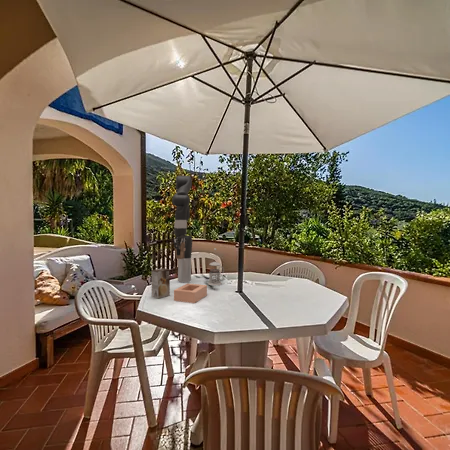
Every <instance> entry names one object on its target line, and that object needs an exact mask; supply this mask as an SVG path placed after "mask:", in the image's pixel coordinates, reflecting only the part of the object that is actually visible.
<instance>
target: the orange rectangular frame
mask: <svg viewBox="0 0 450 450" xmlns="http://www.w3.org/2000/svg"><path fill="white" fill-rule="evenodd" d="M207 295H208V284H207V285H206V284H197V283H191V282H187V283H185V284H183V285H182V286H180V287H178V288H175V289H174V290H173V301H174V302H175V301H176V302H181V303H182V302H183V303H189V304H190V303H191V304H195V303H197V302H199V301H200V300H202V299H203V298H205V297H206V296H207Z"/></svg>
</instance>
